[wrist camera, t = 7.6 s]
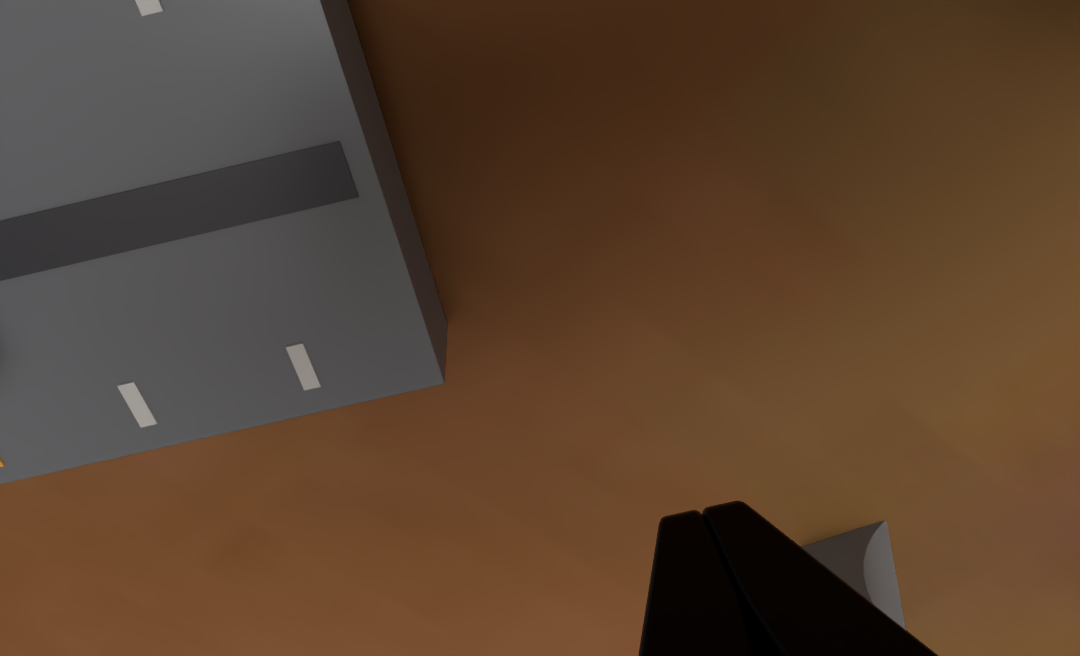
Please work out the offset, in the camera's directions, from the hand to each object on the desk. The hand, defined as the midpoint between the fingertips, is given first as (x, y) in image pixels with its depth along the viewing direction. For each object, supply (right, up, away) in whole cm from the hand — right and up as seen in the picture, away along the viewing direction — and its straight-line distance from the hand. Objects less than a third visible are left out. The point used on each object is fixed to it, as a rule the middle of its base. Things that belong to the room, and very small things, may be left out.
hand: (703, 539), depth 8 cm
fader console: (-14, +5, +11) cm, 18 cm away
